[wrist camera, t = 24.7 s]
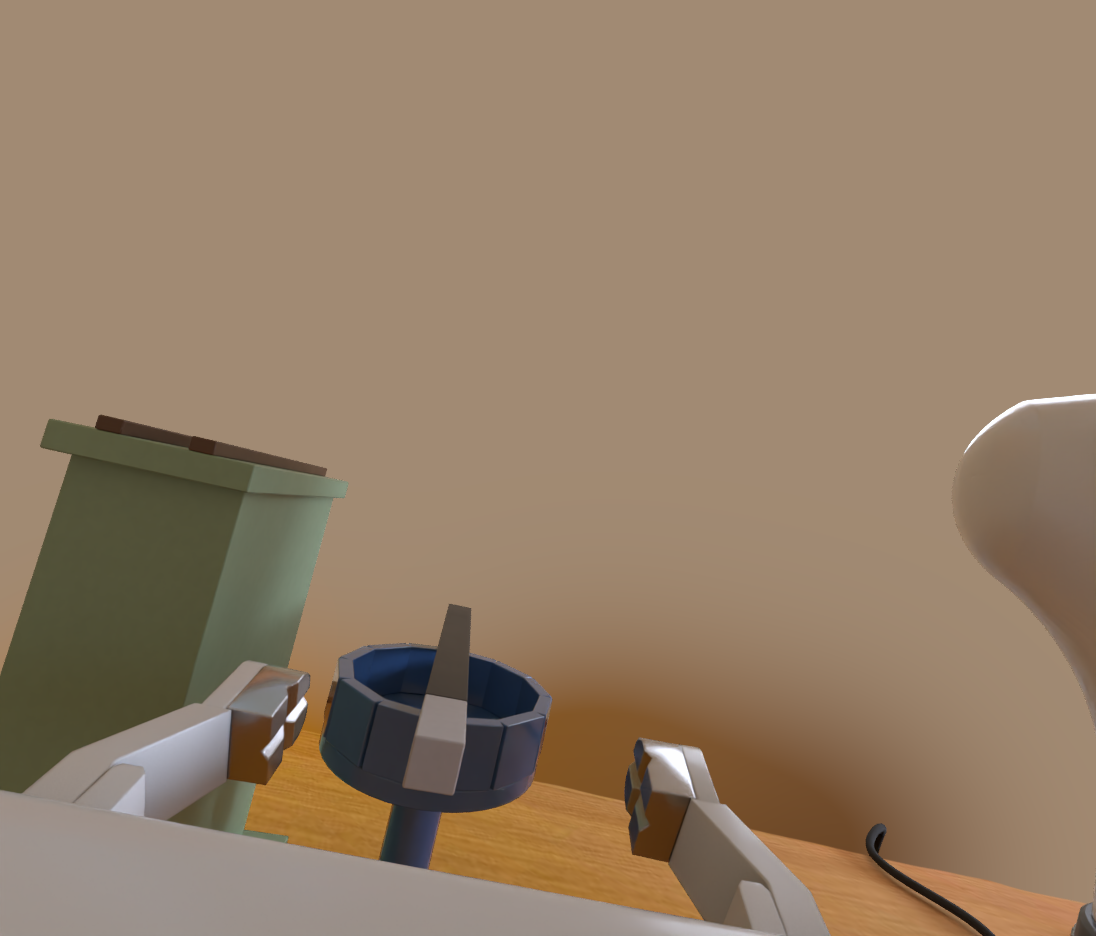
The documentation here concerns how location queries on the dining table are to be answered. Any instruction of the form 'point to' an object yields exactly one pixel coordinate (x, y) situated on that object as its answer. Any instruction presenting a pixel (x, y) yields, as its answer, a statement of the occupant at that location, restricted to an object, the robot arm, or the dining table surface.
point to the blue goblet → (389, 727)
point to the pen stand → (156, 592)
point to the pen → (443, 711)
